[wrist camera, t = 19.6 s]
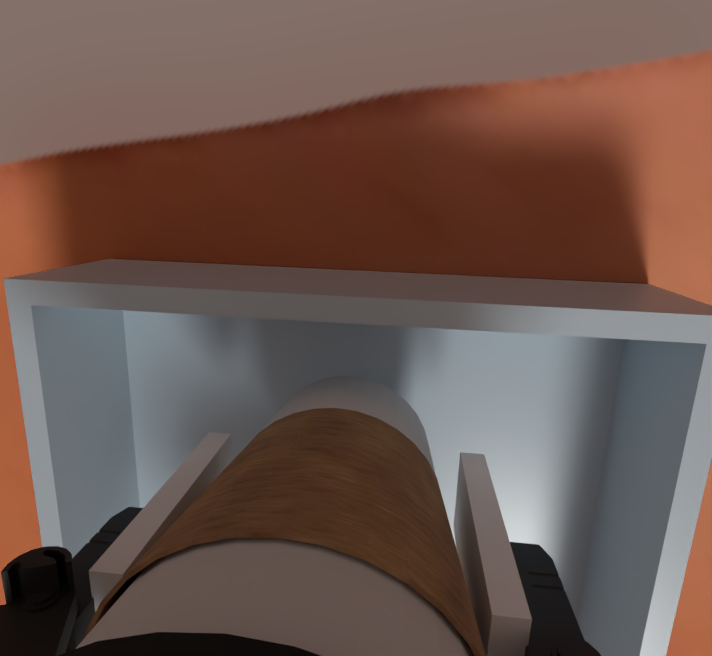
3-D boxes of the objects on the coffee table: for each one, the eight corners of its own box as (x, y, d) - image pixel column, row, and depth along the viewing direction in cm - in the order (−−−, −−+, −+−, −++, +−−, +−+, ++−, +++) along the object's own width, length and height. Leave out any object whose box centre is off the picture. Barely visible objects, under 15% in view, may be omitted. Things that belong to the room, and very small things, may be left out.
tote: (148, 699, 27) (82, 824, 21) (108, 258, 21) (3, 278, 16) (564, 755, 25) (606, 909, 19) (649, 284, 19) (744, 317, 13)
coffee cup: (384, 296, 17) (243, 815, 3) (505, 489, 18) (852, 1543, 4) (197, 410, 19) (-488, 1081, 5) (318, 578, 20) (88, 1518, 6)
